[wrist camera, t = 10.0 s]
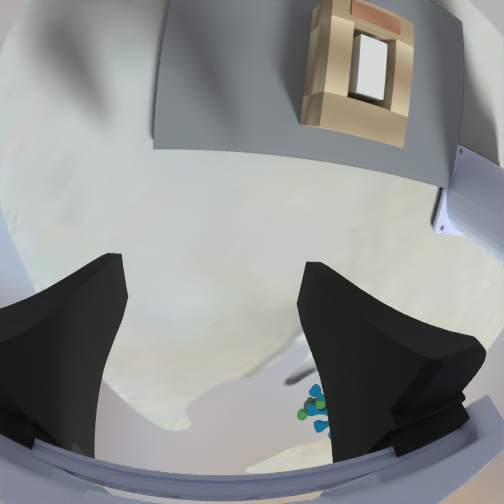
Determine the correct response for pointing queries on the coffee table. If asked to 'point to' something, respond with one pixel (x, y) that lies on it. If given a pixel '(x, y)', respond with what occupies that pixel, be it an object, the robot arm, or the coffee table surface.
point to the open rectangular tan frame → (338, 71)
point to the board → (302, 85)
